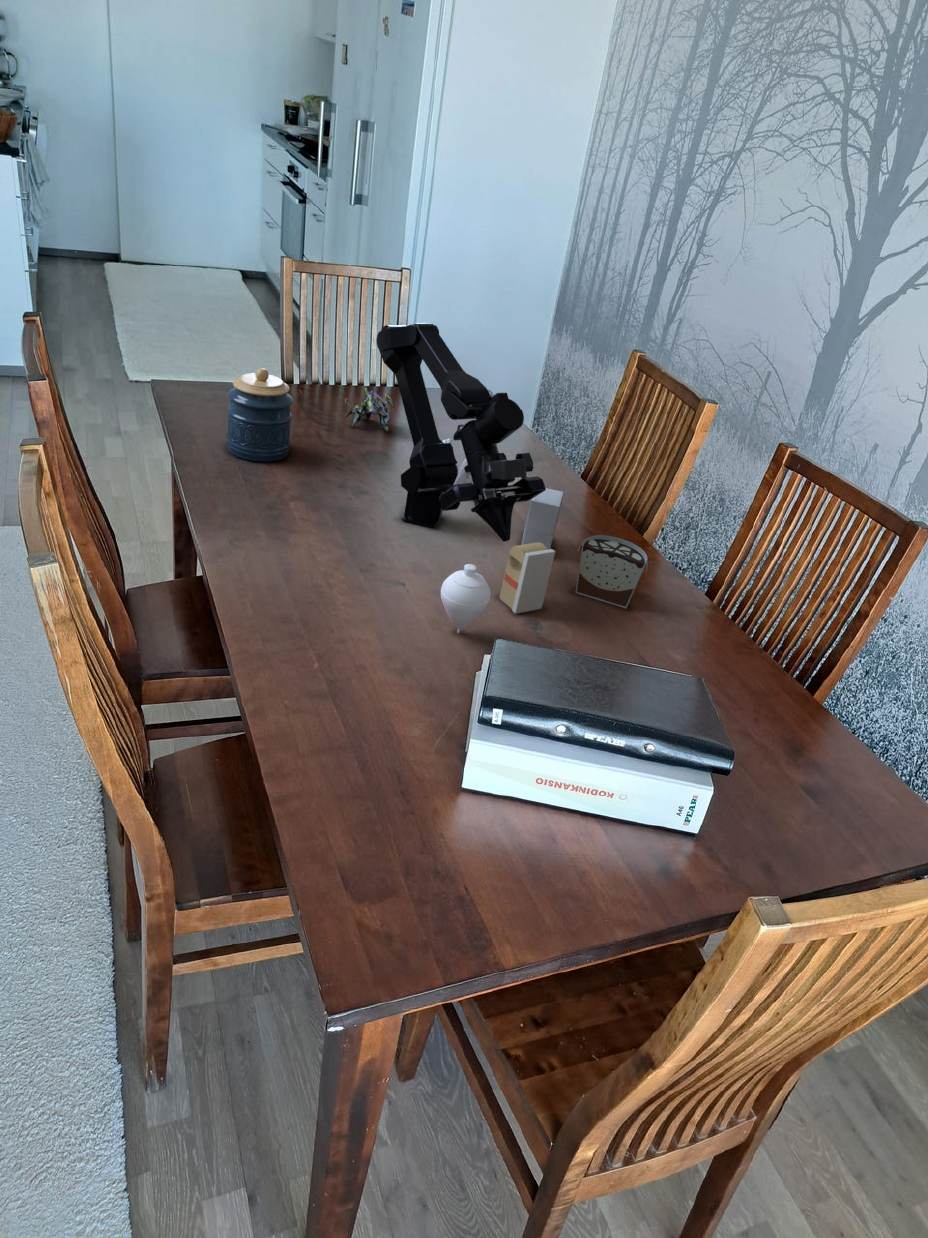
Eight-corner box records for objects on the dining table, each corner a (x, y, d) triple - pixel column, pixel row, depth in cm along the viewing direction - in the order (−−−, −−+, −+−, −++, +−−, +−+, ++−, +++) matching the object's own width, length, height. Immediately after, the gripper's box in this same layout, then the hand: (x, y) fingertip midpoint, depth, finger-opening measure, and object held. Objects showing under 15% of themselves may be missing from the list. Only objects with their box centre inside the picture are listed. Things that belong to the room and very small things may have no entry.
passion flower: (381, 451, 217) (400, 424, 207) (337, 441, 212) (355, 412, 202) (380, 413, 221) (399, 384, 212) (338, 402, 217) (355, 372, 207)
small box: (548, 557, 170) (560, 507, 165) (519, 550, 171) (530, 500, 165) (552, 540, 177) (564, 491, 172) (525, 534, 178) (536, 484, 172)
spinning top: (447, 649, 137) (460, 581, 131) (426, 623, 143) (436, 556, 137) (490, 643, 141) (504, 576, 135) (468, 617, 146) (480, 552, 140)
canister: (301, 454, 193) (308, 372, 184) (259, 468, 183) (263, 382, 174) (256, 434, 198) (260, 354, 189) (212, 447, 188) (215, 363, 179)
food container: (640, 596, 163) (655, 547, 158) (634, 611, 158) (650, 561, 153) (574, 576, 165) (587, 527, 160) (567, 590, 160) (580, 540, 155)
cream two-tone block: (496, 597, 154) (509, 540, 148) (522, 592, 157) (535, 536, 151) (515, 614, 150) (528, 555, 144) (541, 608, 153) (555, 551, 147)
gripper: (460, 438, 143) (486, 531, 142) (551, 432, 154) (577, 519, 152) (427, 465, 153) (452, 552, 151) (515, 458, 163) (539, 540, 161)
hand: (506, 540), depth 153 cm, fingers closed
